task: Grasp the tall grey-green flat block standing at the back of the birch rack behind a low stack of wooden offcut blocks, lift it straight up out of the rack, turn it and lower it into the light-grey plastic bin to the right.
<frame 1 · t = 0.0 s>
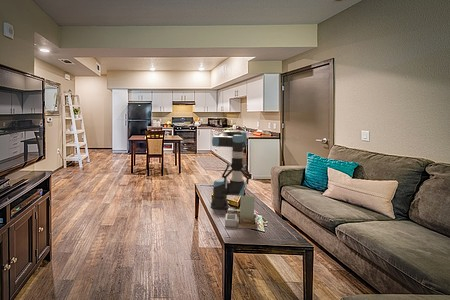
hand: (236, 188, 231), 28 cm above the table, fingers open, 13 cm apart
offcut birch: (246, 226, 238), on the table, touching offcut walnut
offcut oak: (247, 220, 237), point 4 cm above the table, touching offcut walnut
rack: (246, 224, 240), on the table
bin: (230, 223, 241), on the table
offcut walnut: (245, 223, 237), point 2 cm above the table, touching offcut birch, offcut oak
grey-green flat block: (246, 223, 244), on the table
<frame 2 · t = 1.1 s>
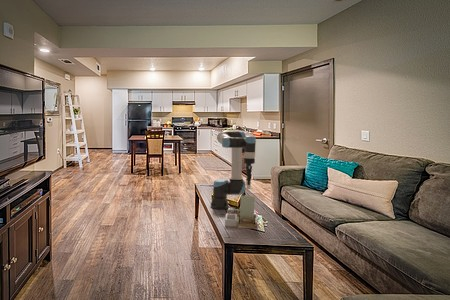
hand: (248, 187, 240), 27 cm above the table, fingers open, 13 cm apart
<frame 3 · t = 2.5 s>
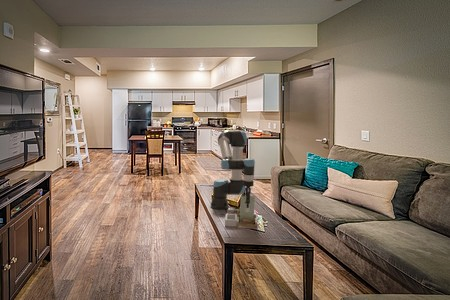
hand: (247, 209, 242), 10 cm above the table, fingers open, 13 cm apart
offcut birch: (246, 226, 238), on the table
offcut walnut: (246, 223, 237), point 2 cm above the table, touching offcut oak
everything else where it was.
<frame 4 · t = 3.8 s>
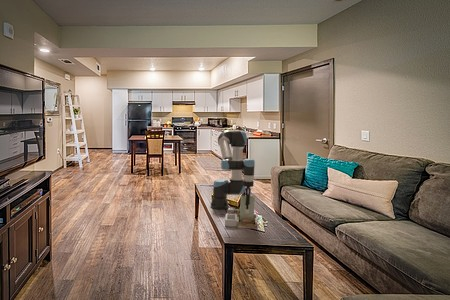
hand: (246, 212, 243), 8 cm above the table, fingers closed on grey-green flat block, 3 cm apart
offcut birch: (246, 226, 238), on the table, touching offcut walnut
offcut oak: (246, 220, 237), point 4 cm above the table
offcut walnut: (246, 223, 237), point 2 cm above the table, touching offcut birch
grey-green flat block: (246, 223, 244), on the table, touching gripper
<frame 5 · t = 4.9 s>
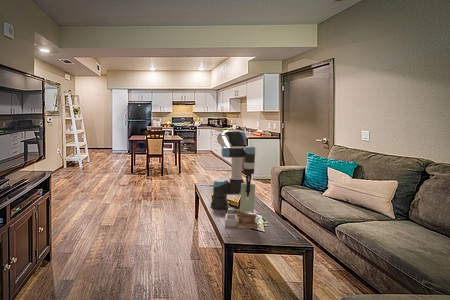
hand: (247, 199, 242), 17 cm above the table, fingers closed on grey-green flat block, 3 cm apart
offcut oak: (246, 220, 237), point 4 cm above the table, touching offcut walnut
offcut walnut: (246, 223, 237), point 2 cm above the table, touching offcut birch, offcut oak
grey-green flat block: (246, 210, 243), point 9 cm above the table, touching gripper
everything else where it was.
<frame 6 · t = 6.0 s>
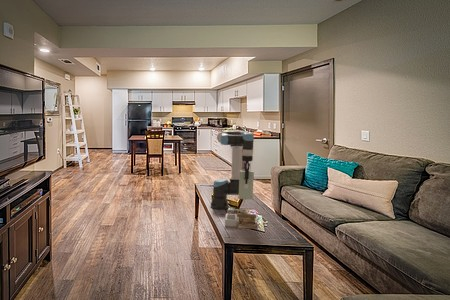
hand: (245, 187, 240), 26 cm above the table, fingers closed on grey-green flat block, 3 cm apart
grey-green flat block: (245, 198, 241), point 18 cm above the table, touching gripper
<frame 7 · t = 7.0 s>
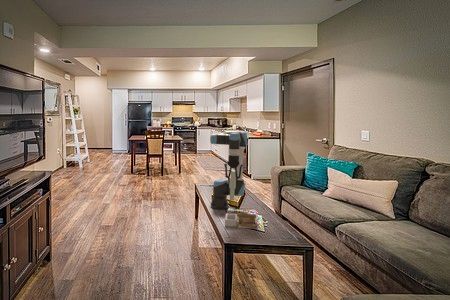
hand: (232, 187, 238), 26 cm above the table, fingers closed on grey-green flat block, 3 cm apart
offcut oak: (246, 220, 236), point 4 cm above the table
offcut walnut: (246, 223, 237), point 2 cm above the table, touching offcut birch, rack
grey-green flat block: (232, 198, 239), point 18 cm above the table, touching gripper
everything else where it was.
when the fingers open (10 cm above the table, at t = 10.7 s): grey-green flat block drops 1 cm, resting on bin.
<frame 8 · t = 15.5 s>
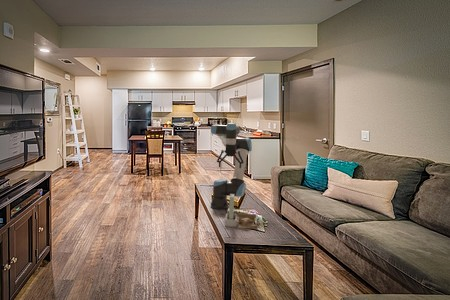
hand: (229, 172, 254), 35 cm above the table, fingers open, 13 cm apart
grey-green flat block: (230, 222, 241), point 1 cm above the table, touching bin
at the end: grey-green flat block inside the target area on the bin (0.1 cm from its centre), point 0.6 cm above the bin's base; the gripper is holding nothing; grey-green flat block moved 11.5 cm from its start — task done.
